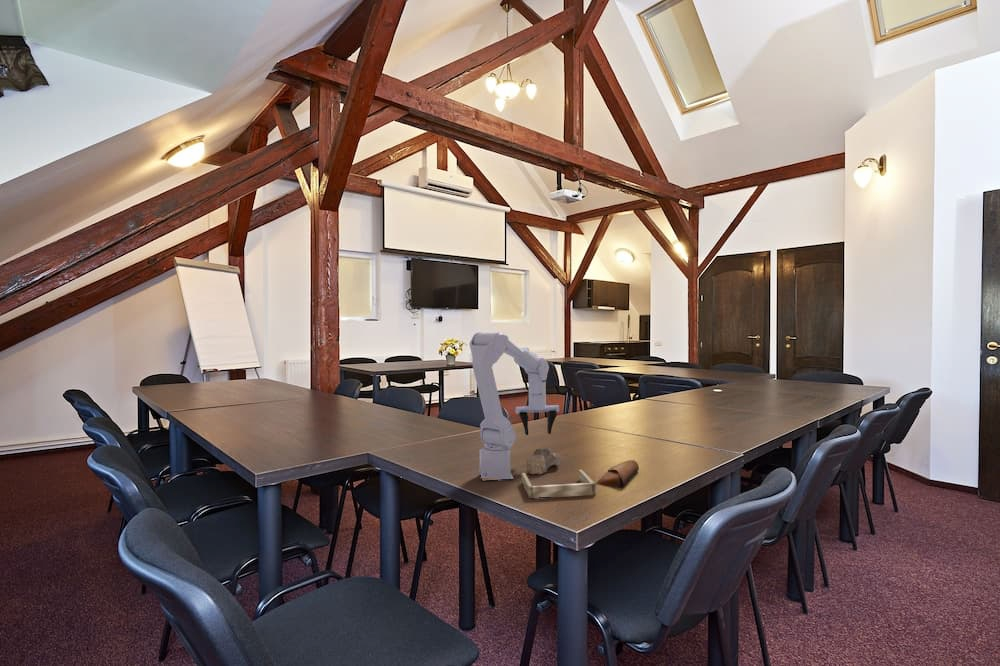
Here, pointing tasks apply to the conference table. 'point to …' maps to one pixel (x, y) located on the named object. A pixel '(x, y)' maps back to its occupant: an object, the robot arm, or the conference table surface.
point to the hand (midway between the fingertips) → (537, 433)
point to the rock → (542, 461)
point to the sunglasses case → (619, 474)
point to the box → (561, 488)
